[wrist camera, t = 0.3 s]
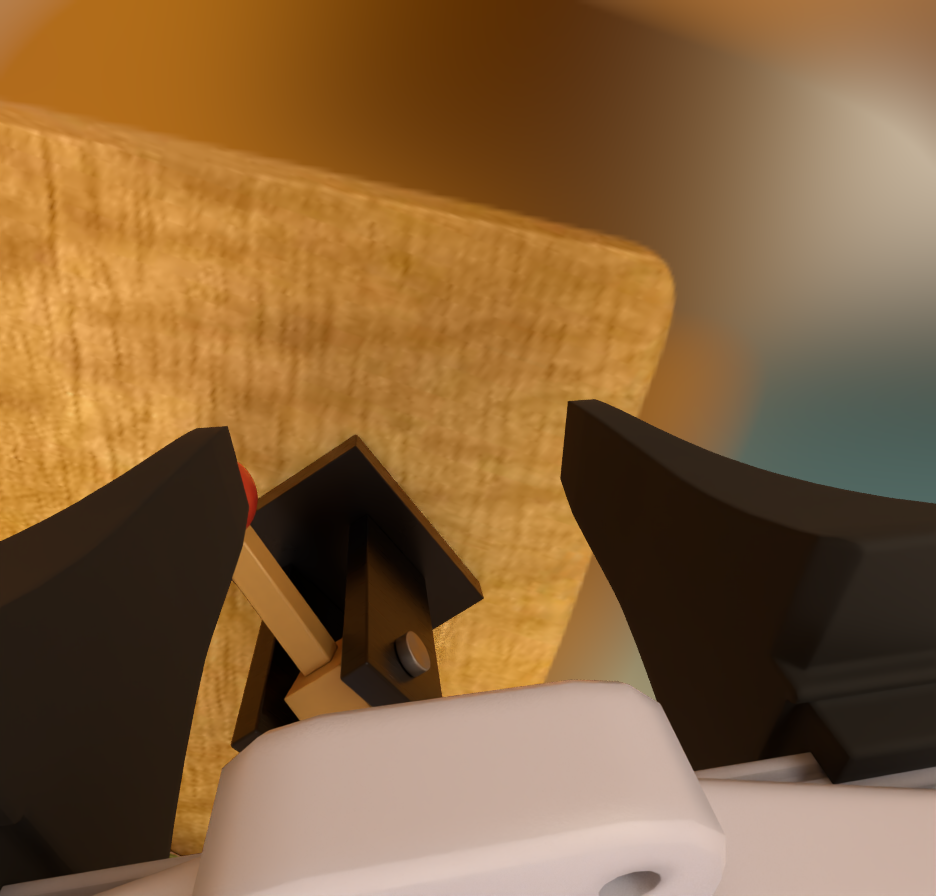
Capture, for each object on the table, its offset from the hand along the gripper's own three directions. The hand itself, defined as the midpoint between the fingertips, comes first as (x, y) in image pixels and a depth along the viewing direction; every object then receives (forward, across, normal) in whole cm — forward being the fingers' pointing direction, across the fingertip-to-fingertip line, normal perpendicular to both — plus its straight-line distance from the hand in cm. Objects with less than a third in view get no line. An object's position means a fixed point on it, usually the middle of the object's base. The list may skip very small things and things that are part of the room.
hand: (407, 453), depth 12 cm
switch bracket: (+9, +3, +11) cm, 15 cm away
